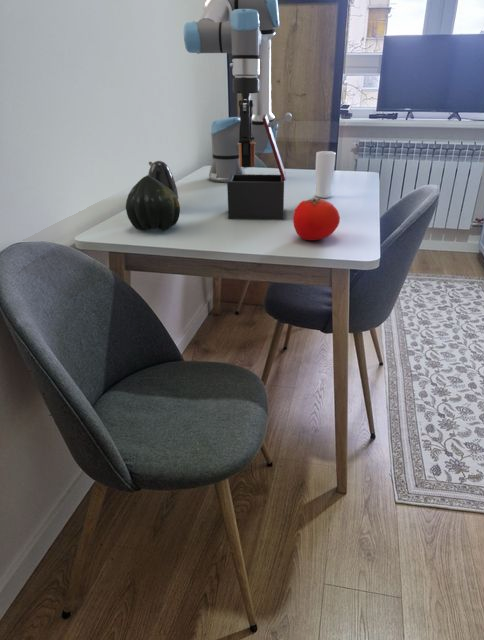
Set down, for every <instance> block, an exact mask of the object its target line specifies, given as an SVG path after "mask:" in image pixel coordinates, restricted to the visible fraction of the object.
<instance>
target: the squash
mask: <svg viewBox="0 0 484 640" xmlns="http://www.w3.org/2000/svg"><path fill="white" fill-rule="evenodd" d="M125 213H126V217H127V218H128V220H129V222H130V224H131V225H132V226H133V227H134V228H135V229H137V230H139V231H142V232H143V231H144V232H145V231H148V230H152V229H158V230H159V231H162V232H166V231H169V229H170V228H173V227H174V226H175V225H176V224H177V223H178V221H179V219H180V213H181V205H180V201H179V197H178V198H177V196H176V195H175V193H174V192H173V191H172V190H171V189H169V188H168V187H167V186H165V185H164V184H162V183H161V182H159V181H158V180H156V179H154V178H153V177H150V176H149V175H148V174H146V176H143V177H142V178H140V180H138V181H137V183H136V184H135V185H133V187H132V188H131V189H130V191H129V193H128V195H127V198H126V203H125Z"/></svg>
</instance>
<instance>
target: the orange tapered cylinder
mask: <svg viewBox="0 0 484 640" xmlns="http://www.w3.org/2000/svg"><path fill="white" fill-rule="evenodd" d="M250 143H251V167H250V168H253V167H255V166H256V153H255V145H256V142H251V141H250ZM238 145H239V166H240V167H242V152H241V143H239V142H238Z"/></svg>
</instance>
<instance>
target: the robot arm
mask: <svg viewBox="0 0 484 640" xmlns="http://www.w3.org/2000/svg"><path fill="white" fill-rule="evenodd" d="M279 27H280V12H279V2H278V0H205V3H204V5H203V13H202V14H201V16H200V18H199V19H198V21H195V20H194V21H189V22H185V24H184V26H183V43H184V47H185V50H186V52H188V53H190V54H197V55H199V54H231V62H230V63H229V68H232V70H231V71H232V75H233V76H234V77H233V78H232V92H233V93H234V94H241V96H240V97H241V98H240V100H238V107H239V116H231V117H230V116H229V117H225V118H223V117H222V118H219V119H215V120H213V121H212V122H211V125H210V126H211V127H210V136H211V151H212V153H211V154H212V161H211V164H210V169H209V174H208V180H209V181H211V182H215V183H227V182H228V179H229V177H230V175H231V174H246V172H245V171H246V170H245V168H252V167H251V143H250V141H251V142H256V145H255V154H267V153H269V154H270V153H273V150H272V147H271V144H270V141H269V138H268V135H267V132H266V129H265V126H264V123H263V120H262V118H263V116H264V115H265V114H267V117H268V120H269V122H272V121H274V120H276V119H275V115H274V114H273V113H272V93H271V92H272V38H273V37H274V36H275V35H276V29H279ZM278 127H279V124H276V125H274V126H271V129H272V133H273V136H274V139H275V142H276V143H277V136H278V135H277V134H278V129H279V128H278ZM238 142H239V143H241V152H242V167H240V166H239V145H238Z"/></svg>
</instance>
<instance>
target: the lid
mask: <svg viewBox="0 0 484 640" xmlns="http://www.w3.org/2000/svg"><path fill="white" fill-rule="evenodd" d="M262 120H263V123H264V126H265V129H266V132H267V135H268V138H269V141H270V144H271V147H272V150H273V152H272V153H273V156H274V159H275V163H276V165H277V169H278V171H279V175H281V177H282V180H283V181H284V182H285V181H287V179H286V178H287V177H286V170H285V167H284V164H283V161H282V157H281V154H280V151H279V148H278V145H277V141H276V142H275V139H274V136H273V133H272V129H271V126H274V125H276V124H278V125H279V124H281V123H283V122H286V123H291V122H292V120H293V116H292V113H291V112H286V113H285V114H284V116H282V117H279V118H277V119H275V120H274V121H272V122H269V120H268V117H267V114H265V115H264V116H263V118H262Z"/></svg>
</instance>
